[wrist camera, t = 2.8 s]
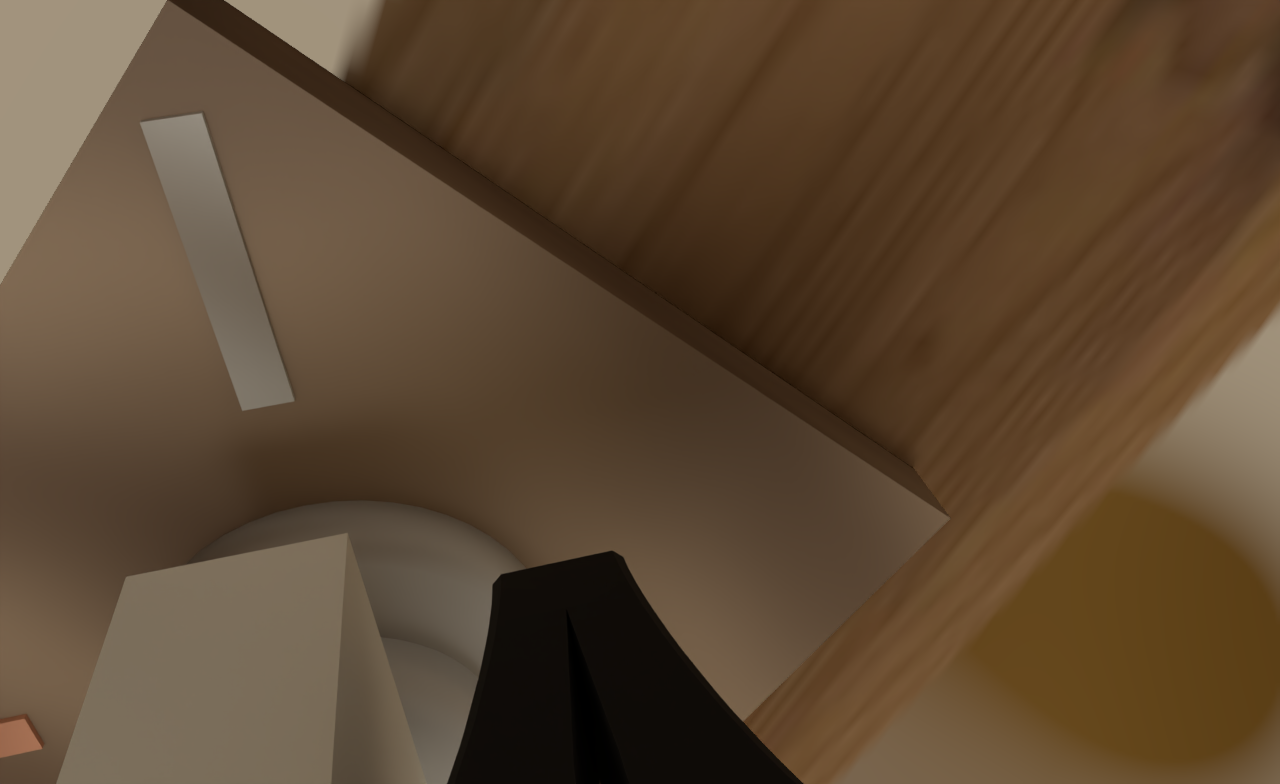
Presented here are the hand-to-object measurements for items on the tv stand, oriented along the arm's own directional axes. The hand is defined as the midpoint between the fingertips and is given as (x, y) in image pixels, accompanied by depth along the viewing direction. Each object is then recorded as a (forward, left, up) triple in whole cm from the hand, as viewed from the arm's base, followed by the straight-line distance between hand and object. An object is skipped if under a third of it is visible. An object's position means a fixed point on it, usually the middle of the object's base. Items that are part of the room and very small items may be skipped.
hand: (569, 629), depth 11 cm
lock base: (-5, 0, -6) cm, 8 cm away
